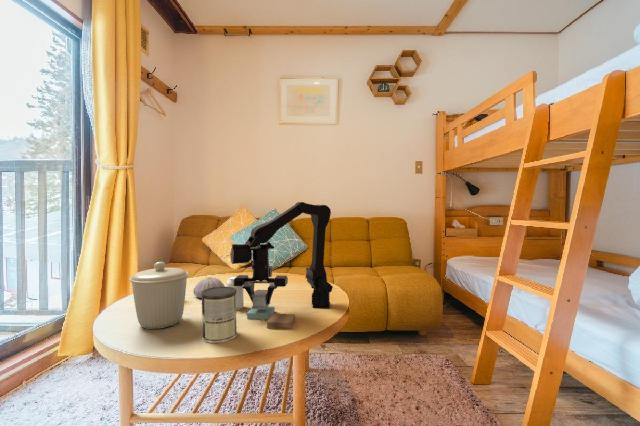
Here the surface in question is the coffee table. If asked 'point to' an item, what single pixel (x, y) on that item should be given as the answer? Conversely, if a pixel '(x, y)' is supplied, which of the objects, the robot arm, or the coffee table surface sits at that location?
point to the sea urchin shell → (206, 285)
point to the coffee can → (219, 314)
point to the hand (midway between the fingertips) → (261, 304)
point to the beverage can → (237, 292)
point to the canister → (159, 295)
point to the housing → (260, 299)
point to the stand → (261, 313)
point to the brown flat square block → (281, 321)
